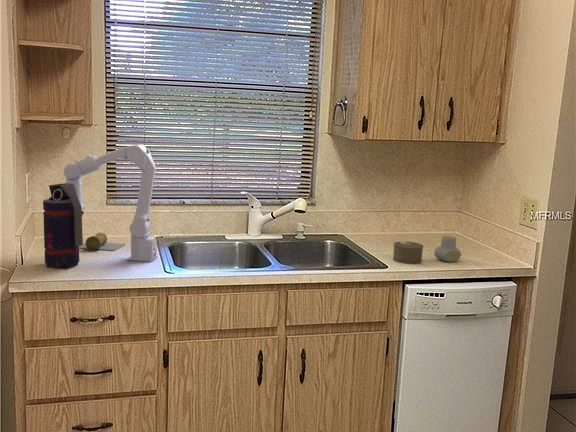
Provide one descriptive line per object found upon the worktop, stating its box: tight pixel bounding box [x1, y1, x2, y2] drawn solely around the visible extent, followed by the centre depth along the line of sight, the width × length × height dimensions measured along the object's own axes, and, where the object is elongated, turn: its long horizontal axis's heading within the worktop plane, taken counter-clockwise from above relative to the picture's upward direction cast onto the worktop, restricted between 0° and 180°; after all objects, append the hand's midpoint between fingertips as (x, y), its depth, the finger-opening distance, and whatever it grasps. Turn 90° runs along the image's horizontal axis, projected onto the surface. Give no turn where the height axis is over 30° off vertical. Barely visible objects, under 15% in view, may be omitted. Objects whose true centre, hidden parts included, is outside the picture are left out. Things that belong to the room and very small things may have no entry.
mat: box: [79, 242, 126, 252], centre depth 253 cm, size 16×12×1 cm
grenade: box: [42, 182, 84, 270], centre depth 219 cm, size 14×12×30 cm
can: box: [392, 241, 424, 265], centre depth 252 cm, size 12×12×7 cm
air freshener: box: [433, 235, 462, 263], centre depth 255 cm, size 11×8×10 cm
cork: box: [85, 232, 108, 252], centre depth 250 cm, size 6×6×11 cm
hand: (74, 229), depth 234 cm, fingers closed
